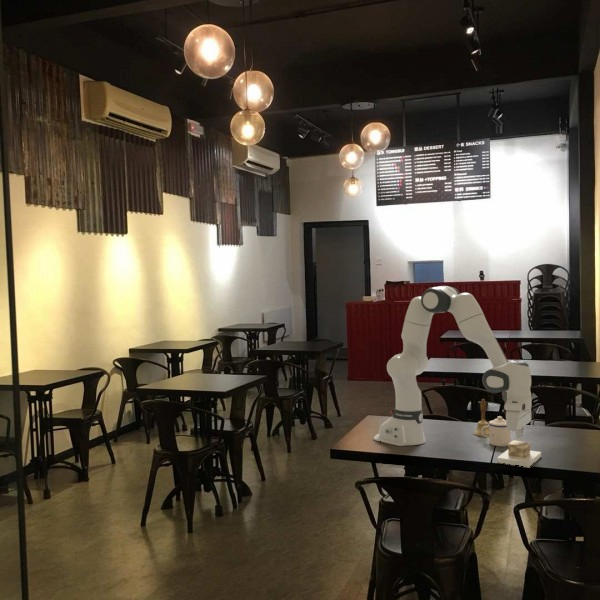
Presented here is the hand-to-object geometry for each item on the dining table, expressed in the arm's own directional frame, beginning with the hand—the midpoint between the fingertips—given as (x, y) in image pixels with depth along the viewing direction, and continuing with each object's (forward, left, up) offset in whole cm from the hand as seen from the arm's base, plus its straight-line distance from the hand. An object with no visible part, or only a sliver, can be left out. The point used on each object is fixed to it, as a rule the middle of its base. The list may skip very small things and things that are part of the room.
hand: (519, 437), depth 242 cm
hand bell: (-25, +30, -9) cm, 40 cm away
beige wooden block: (0, 0, -7) cm, 7 cm away
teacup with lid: (-15, +18, -9) cm, 25 cm away
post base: (0, 0, -9) cm, 9 cm away
